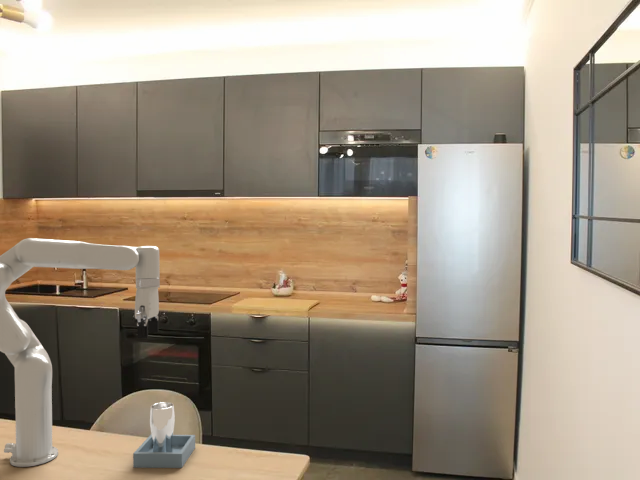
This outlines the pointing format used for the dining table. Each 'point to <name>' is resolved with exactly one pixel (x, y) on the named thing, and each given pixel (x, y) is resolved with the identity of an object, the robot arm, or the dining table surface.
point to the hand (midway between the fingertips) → (148, 335)
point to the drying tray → (164, 453)
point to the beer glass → (162, 426)
